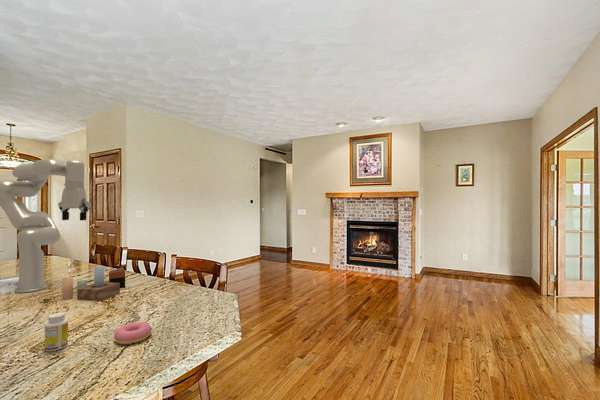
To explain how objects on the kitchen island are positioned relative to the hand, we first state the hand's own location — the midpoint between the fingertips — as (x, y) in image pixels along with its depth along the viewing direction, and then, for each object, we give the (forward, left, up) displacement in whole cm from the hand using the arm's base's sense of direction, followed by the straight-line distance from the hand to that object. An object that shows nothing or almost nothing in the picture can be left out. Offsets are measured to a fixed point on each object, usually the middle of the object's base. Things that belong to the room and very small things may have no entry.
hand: (74, 220), depth 145 cm
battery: (+14, +12, -37) cm, 41 cm away
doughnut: (+62, -40, -37) cm, 82 cm away
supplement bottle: (+43, -49, -36) cm, 75 cm away
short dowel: (+4, +1, -36) cm, 37 cm away
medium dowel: (+4, -7, -36) cm, 37 cm away
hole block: (+16, -2, -36) cm, 40 cm away
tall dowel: (+16, -2, -36) cm, 40 cm away
